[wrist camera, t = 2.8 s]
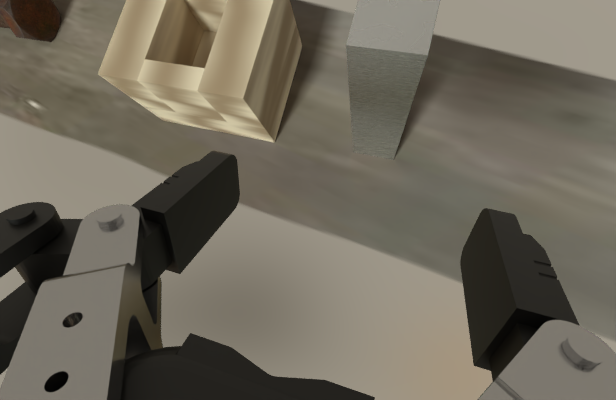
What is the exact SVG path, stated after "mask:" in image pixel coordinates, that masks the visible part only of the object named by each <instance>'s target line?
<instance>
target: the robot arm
mask: <svg viewBox="0 0 616 400" xmlns="http://www.w3.org/2000/svg"><path fill="white" fill-rule="evenodd" d="M239 196H240V191H239V178H238V166H237V159H236V157H235V156H234V155H231V154H227V153H222V152H217V151H211V152H210V153H209V154H207V155H206V156H205V157H204V158H202V159H201V160H200V161H198V162H194V163H192V164H189V165H187V166H184V167H182V168H181V169H179V170H178V171H177V172H175V173H174V174H173V175H172V177H169V178H167V179H166V180H165V181H164V183H161V184H160V185H158V186H157V187H156V188H154V189H153V190H152V191H150V192H149V193H148V194H146V195H145V196H144V197H142V198H141V199H140V200H138V201H137V202H136V203H135V204H133V205H132V206H130V205H122V204H121V205H111V206H106V207H103V208H100V209H98V210H96V211H94V212H92V213H90V214H89V215H87V216H86V217H85V218H84V219H60V217H59V215H58V213H57V211H56V209H55V207H54V206H53V205H51V204H49V203H43V202H33V203H27V204H22V205H19V206H16V207H12V208H10V209H8V210H5V211H3V212H2V213H0V277H2V276H3V275H5V274H6V273H7V272H9V271H10V270H11V269H13V268H14V267H15V268H16V269H17V271H18V272H19V273H20V275H21V276H22V277H23V279H24V280H25V283H23V284H22V285H21V286H20V287H18V288H17V289H16V290H15V291H13V292H12V293H11V294H10V295H8V296H7V297H6V298H5V299H3V300H2V301H1V302H0V374H1V373H3V372H4V371H5V370H6V369H7V368H8V370H7V372H6V375H5V378H4V380H3V382H2V385H1V388H0V400H374V399H375V398H374V397H372V396H369V395H366V394H363V393H361V392H358V391H355V390H352V389H349V388H346V387H343V386H340V385H338V384H335V383H332V382H329V381H326V380H317V379H302V378H287V377H275V376H271V375H269V374H267V373H266V372H265V371H263V370H262V369H260V368H259V367H257V366H256V365H255V364H253V363H252V362H251V361H249V360H248V359H247V358H245V357H244V356H242V355H241V354H240V353H238V352H237V351H236V350H234V349H233V348H231V347H229V346H226V345H222V344H220V343H217V342H214V341H212V340H209V339H206V338H203V337H200V336H197V335H194V334H191V333H190V335H189V336H188V337H187V339H186V340H185V342H184V343H183V345H182V346H177V347H165V348H163V344H162V339H161V287H162V284H161V283H162V282H161V278H160V275H161V274H162V273H163V272H164V271H165V270H169V271H172V272H175V273H179V274H181V272H182V271H183V270H184V269H185V268H186V266H187V265H188V264H189V263H190V262H191V260H192V259H193V258H194V257H195V256H196V255H197V253H198V252H199V251H200V250H201V249H202V247H203V246H204V245H205V244H206V243H207V241H208V240H209V239H210V238H211V237H212V236H213V234H214V233H215V232H216V231H217V230H218V228H219V227H220V226H221V225H222V224H223V222H224V221H225V220H226V219H227V218H228V217H229V215H230V214H231V213H232V212H233V211H234V209H235V208H236V206H237V204H238V201H239ZM461 272H462V280H463V287H464V295H465V302H466V310H467V318H468V325H469V333H470V339H471V348H472V355H473V363H474V366H477V367H480V368H484V369H487V370H490V371H491V372H492V378H493V382H492V383H491V385H490V386H489V387H488V388H487V389H486V390H485V391H484V393H483V394H482V395H481V396H480V397H479V399H478V400H616V354H615V352H614V351H613V350H612V349H611V348H610V347H609V346H608V345H607V344H606V343H605V342H604V341H602V340H601V339H600V338H599V337H598V336H596V335H595V334H593V333H592V332H590V331H588V330H587V329H585V328H583V327H581V326H579V323H578V321H577V319H576V317H575V315H574V313H573V310H572V308H571V306H570V304H569V302H568V299H567V297H566V295H565V293H564V291H563V289H562V286H561V284H560V282H559V280H557V275H556V273H555V271H554V269H553V267H551V262H550V260H549V258H548V256H547V254H546V251H545V250H544V248H543V247H542V246H541V245H540V244H539V243H538V242H537V241H536V240H535V239H534V238H533V237H532V236H531V235H527V234H523V233H522V230H521V228H520V225H519V223H518V220H517V218H516V216H515V215H514V214H511V213H506V212H501V211H497V210H492V209H487V208H485V209H483V210H482V212H481V213H480V215H479V217H478V219H477V221H476V223H475V225H474V227H473V229H472V231H471V233H470V235H469V237H468V239H467V241H466V244H465V246H464V248H463V251H462V255H461Z"/></svg>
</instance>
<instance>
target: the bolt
mask: <svg viewBox="0 0 616 400" xmlns="http://www.w3.org/2000/svg"><path fill="white" fill-rule="evenodd" d="M60 22H61V18H60V14H59V12H58V10H57V8H56V6H55V5H54V3H53V2H52V0H0V27H4V28H11V30H12V31H13V33H14V34H15V35H16V37H20V38H26V39H33V40H40V41H48V42H51V41H52V40H53V39H54V37H55V36H56V34H57V31H58V29H59V26H60Z"/></svg>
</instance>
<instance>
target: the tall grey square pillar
mask: <svg viewBox="0 0 616 400" xmlns="http://www.w3.org/2000/svg"><path fill="white" fill-rule="evenodd" d="M439 3H440V0H358V2H357V6H356V10H355V14H354V17H353V21H352V25H351V29H350V33H349V36H348V40H347V44H346V50H347V65H348V80H349V95H350V110H351V125H352V140H353V152H355V153H360V154H365V155H370V156H375V157H381V158H386V159H391V160H394V157H395V154H396V151H397V148H398V145H399V142H400V139H401V136H402V133H403V130H404V127H405V124H406V121H407V118H408V114H409V111H410V108H411V105H412V102H413V99H414V96H415V93H416V90H417V87H418V84H419V81H420V78H421V75H422V72H423V69H424V66H425V63H426V60H427V57H428V53H429V48H430V44H431V39H432V35H433V29H434V25H435V21H436V16H437V12H438V7H439Z"/></svg>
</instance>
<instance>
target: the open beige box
mask: <svg viewBox="0 0 616 400" xmlns="http://www.w3.org/2000/svg"><path fill="white" fill-rule="evenodd" d="M301 50H302V43H301V39H300V36H299V32H298V28H297V25H296V21H295V17H294V14H293V10H292V6H291V2H290V0H126V3H125V5H124V8H123V11H122V13H121V16H120V18H119V21H118V23H117V26H116V29H115V31H114V34H113V36H112V39H111V41H110V44H109V47H108V49H107V52H106V54H105V57H104V59H103V62H102V65H101V67H100V70H99V72H98V75H100V76H101V77H103V78H104V79H105V80H107V81H108V82H110V83H111V84H113V85H114V86H115V87H117V88H118V89H120V90H121V91H122V92H124V93H125V94H127V95H128V96H129V97H131V98H132V99H134V100H135V101H136V102H138V103H139V104H141V105H142V106H144V107H145V108H146V109H148V110H149V111H151V112H152V113H153V114H155V115H156V116H158V117H159V118H160V119H162V120H163V121H168V122H173V123H179V124H184V125H189V126H194V127H199V128H204V129H209V130H214V131H219V132H224V133H230V134H235V135H240V136H245V137H250V138H255V139H260V140H265V141H270V142H275V140H276V136H277V133H278V130H279V126H280V123H281V119H282V116H283V112H284V109H285V105H286V102H287V98H288V95H289V91H290V88H291V84H292V81H293V77H294V74H295V70H296V67H297V64H298V60H299V57H300V53H301Z"/></svg>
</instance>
